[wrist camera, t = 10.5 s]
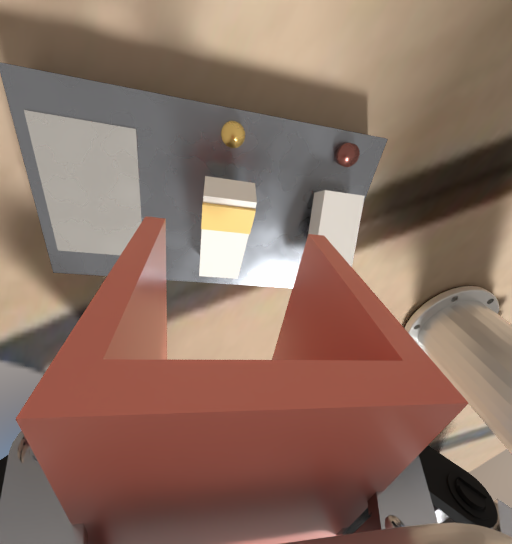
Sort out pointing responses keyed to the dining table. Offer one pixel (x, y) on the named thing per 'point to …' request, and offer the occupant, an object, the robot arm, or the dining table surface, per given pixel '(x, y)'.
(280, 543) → the cap
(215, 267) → the block
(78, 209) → the panel
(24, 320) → the dining table surface
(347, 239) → the block
